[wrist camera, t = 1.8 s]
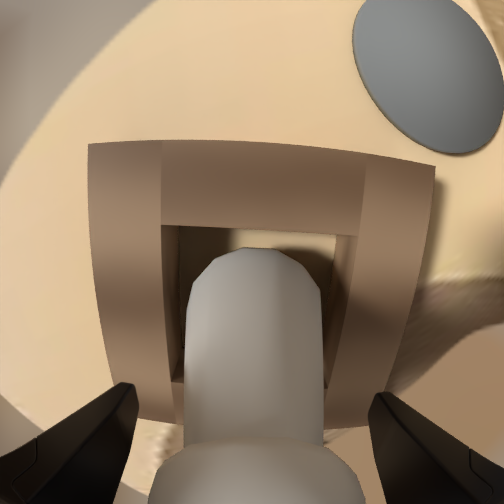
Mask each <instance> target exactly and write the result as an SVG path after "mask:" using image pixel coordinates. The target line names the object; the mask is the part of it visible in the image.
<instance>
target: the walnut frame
mask: <svg viewBox="0 0 504 504" xmlns="http://www.w3.org/2000/svg"><path fill="white" fill-rule="evenodd" d="M435 167H436V166H432V165H427V164H422V163H417V162H412V161H407V160H402V159H396V158H391V157H385V156H379V155H373V154H366V153H360V152H353V151H345V150H338V149H329V148H321V147H312V146H302V145H291V144H279V143H265V142H248V141H224V140H147V141H124V142H107V143H94V144H88V213H89V231H90V245H91V256H92V266H93V275H94V283H95V291H96V298H97V305H98V311H99V317H100V323H101V328H102V334H103V339H104V344H105V349H106V354H107V358H108V363H109V367H110V371H111V376H112V380H113V384H114V386H115V385H116V384H118V383H119V382H127V383H132V384H134V385H135V388H136V392H137V397H138V401H139V413H138V417H137V418H141V419H146V420H152V421H159V422H165V423H172V424H180V425H184V363H185V349H184V348H182V338H181V320H180V297H179V258H178V225H180V226H202V227H223V228H242V229H260V230H277V231H293V232H309V233H324V234H337V238H336V246H335V254H334V261H333V268H332V275H331V282H330V288H329V295H328V301H327V307H326V313H325V318H324V324H323V329H322V341H323V385H324V423H323V430H325V429H339V428H351V427H361V426H369V423H368V411H369V408H370V406H371V403H372V401H373V398H374V396H375V394H376V393H378V392H384V390H385V387H386V384H387V382H388V379H389V376H390V373H391V371H392V368H393V365H394V362H395V359H396V356H397V353H398V350H399V347H400V344H401V340H402V337H403V334H404V331H405V327H406V324H407V320H408V317H409V313H410V309H411V306H412V302H413V298H414V294H415V290H416V286H417V281H418V277H419V272H420V268H421V263H422V258H423V253H424V248H425V243H426V237H427V231H428V225H429V218H430V211H431V204H432V196H433V188H434V178H435Z"/></svg>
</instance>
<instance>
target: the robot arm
mask: <svg viewBox="0 0 504 504" xmlns="http://www.w3.org/2000/svg"><path fill="white" fill-rule="evenodd" d="M138 413H139V401H138V397H137V392H136V388H135V385H134V384H132V383H127V382H119V383H118V384H116V385H115V386H113V387H112V388H110V389H109V390H107V391H106V392H104V393H103V394H101V395H100V396H98V397H97V398H95V399H94V400H92V401H91V402H89V403H88V404H86V405H85V406H83V407H82V408H80V409H79V410H77V411H76V412H74V413H73V414H71V415H70V416H68V417H67V418H65V419H63V420H62V421H60V422H59V423H57V424H56V425H54V426H53V427H51V428H49V429H48V430H46V431H45V432H43V433H42V434H40V435H38V436H37V438H33V439H32V440H30V441H29V442H27V443H25V444H24V445H22V446H20V447H19V448H17V449H15V450H13V451H11V452H9V453H7V454H5V455H3V456H1V457H0V504H113V501H114V498H115V495H116V492H117V489H118V486H119V483H120V480H121V477H122V474H123V471H124V468H125V465H126V462H127V460H128V456H129V453H130V449H131V445H132V440H133V435H134V431H135V426H136V422H137V417H138ZM368 423H369V428H370V434H371V440H372V446H373V453H374V458H375V462H376V466H377V470H378V473H379V477H380V480H381V484H382V488H383V491H384V495H385V499H386V503H387V504H504V468H502V467H501V466H499V465H497V464H495V463H493V462H491V461H490V460H488V459H487V458H485V457H483V456H482V455H480V454H478V453H477V452H475V451H474V450H473V449H469V447H468V446H466V445H465V444H463V443H462V442H460V441H459V440H458V439H456V438H455V437H453V436H452V435H450V434H449V433H447V432H446V431H444V430H443V429H442V428H440V427H439V426H437V425H436V424H434V423H433V422H432V421H430V420H429V419H427V418H426V417H424V416H423V415H421V414H420V413H419V412H417V411H416V410H414V409H413V408H411V407H410V406H409V405H407V404H406V403H405V402H403V401H402V400H400V399H399V398H398V397H396V396H395V395H393V394H392V393H391V392H378V393H376V394H375V396H374V398H373V401H372V403H371V406H370V408H369V411H368Z"/></svg>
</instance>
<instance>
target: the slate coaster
mask: <svg viewBox="0 0 504 504" xmlns="http://www.w3.org/2000/svg"><path fill="white" fill-rule="evenodd" d="M352 44H353V53H354V58H355V63H356V66H357V69H358V72H359V75H360V77H361V79H362V81H363V84H364V86H365V88H366V90H367V91H368V93H369V95H370V97H371V98H372V100H373V101H374V103H375V104H376V106H377V107H378V108H379V110H380V111H381V112H382V113H383V115H384V116H385V117H386V118H387V119H388V120H389V121H390V122H391V123H392V124H393V125H394V126H395V127H396V128H397V129H398V130H399V131H400V132H402V133H403V134H404V135H406V136H407V137H408V138H410V139H411V140H413V141H415V142H416V143H418V144H420V145H422V146H424V147H426V148H429V149H432V150H435V151H439V152H445V153H464V152H470V151H473V150H475V149H478V148H479V147H481V146H483V145H484V144H485V143H486V142H487V141H489V140H490V139H491V137H492V136H493V135H494V133H495V132H496V130H497V128H498V126H499V124H500V121H501V118H502V115H503V110H504V81H503V76H502V71H501V68H500V65H499V61H498V59H497V56H496V54H495V52H494V49H493V47H492V46H491V44H490V42H489V40H488V38H487V37H486V35H485V34H484V32H483V31H482V29H481V28H480V27H479V26H478V24H477V23H476V22H475V21H474V20H473V19H472V17H471V16H470V15H469V14H468V13H467V12H465V11H464V10H463V9H462V8H461V7H460V6H459V5H457V4H456V3H455V2H453V1H452V0H366V1H365V3H364V4H363V5H362V7H361V8H360V10H359V11H358V14H357V16H356V18H355V22H354V26H353V34H352Z"/></svg>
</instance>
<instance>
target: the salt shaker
mask: <svg viewBox="0 0 504 504" xmlns="http://www.w3.org/2000/svg"><path fill="white" fill-rule="evenodd" d="M323 423H324V385H323V341H322V316H321V297H320V289H319V288H318V286H317V285H316V283H315V282H314V280H313V279H312V278H311V276H310V275H309V273H308V272H307V271H306V269H305V268H304V266H303V265H301V264H300V263H299V262H297V261H295V260H293V259H292V258H290V257H288V256H286V255H285V254H283V253H281V252H279V251H278V250H276V249H270V248H249V247H243V248H240V249H237V250H235V251H232V252H230V253H227V254H225V255H222V256H219V257H217V258H215V259H214V260H213V261H212V262H211V263H210V265H209V266H208V267H207V268H206V269H205V270H204V271H203V272H202V273H201V275H200V276H199V277H198V278H197V279H196V280H195V281H194V283H193V286H192V290H191V294H190V298H189V302H188V307H187V316H186V336H185V363H184V449H182V450H181V451H179V452H178V453H176V454H175V455H173V456H171V457H170V458H168V459H167V460H165V461H164V462H163V464H162V465H161V466H160V468H159V469H158V470H157V472H156V475H155V478H154V481H153V484H152V487H151V490H150V493H149V498H148V504H365V497H364V494H363V491H362V489H361V486H360V483H359V481H358V478H357V475H356V474H355V473H354V472H353V471H352V469H351V468H350V467H349V466H348V465H347V464H346V463H345V462H344V461H343V460H341V459H340V458H339V457H338V456H337V455H335V454H334V453H333V452H332V451H331V450H330V449H329V448H326V447H323Z"/></svg>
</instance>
